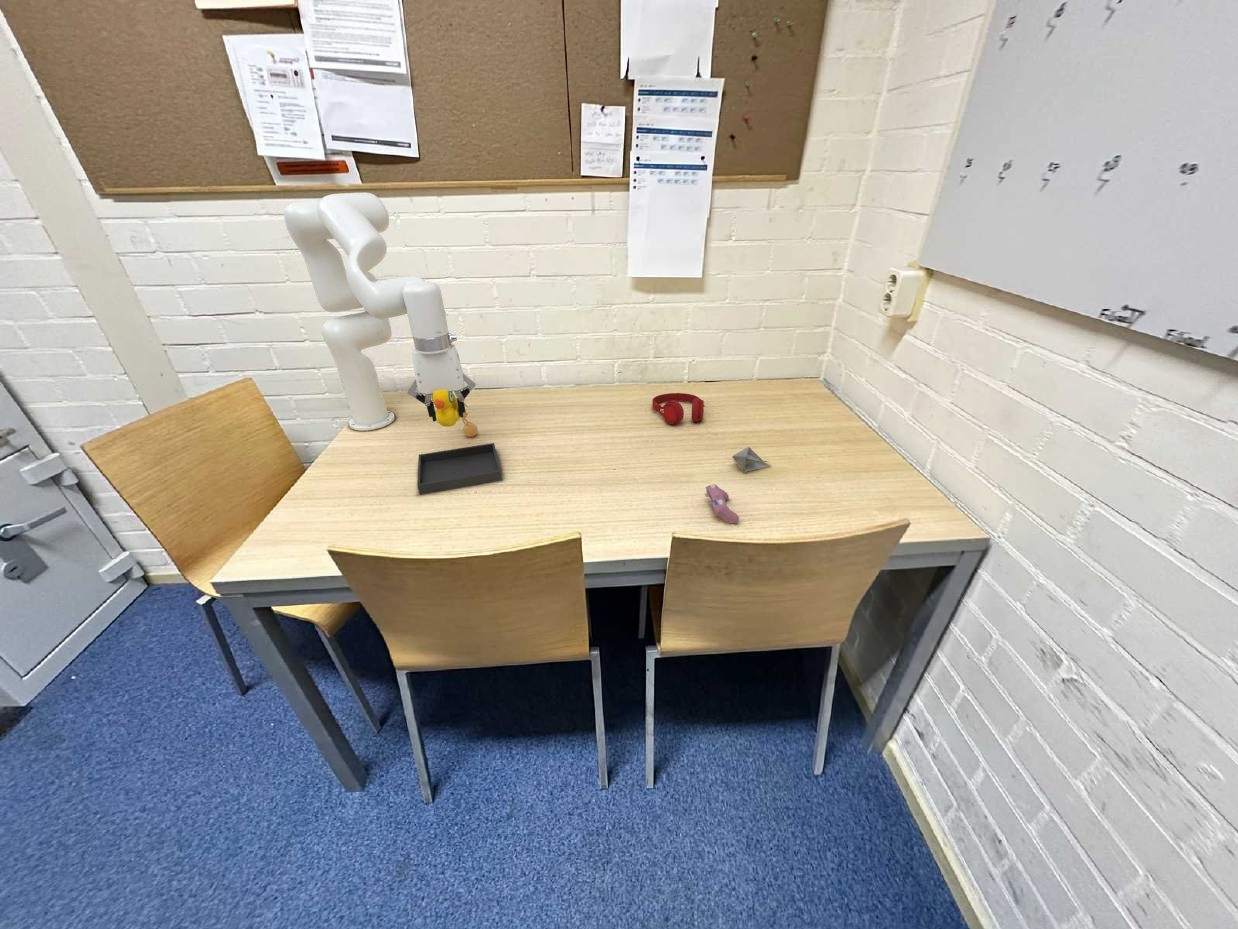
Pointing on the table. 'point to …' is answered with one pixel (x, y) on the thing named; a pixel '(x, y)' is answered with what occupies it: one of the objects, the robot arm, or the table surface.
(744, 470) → the paper boat
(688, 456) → the table surface
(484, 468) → the pan
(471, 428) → the figurine
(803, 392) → the table surface
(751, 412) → the table surface
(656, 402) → the headphones
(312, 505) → the table surface
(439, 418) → the duckling
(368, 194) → the robot arm
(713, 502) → the pink elongated piece
